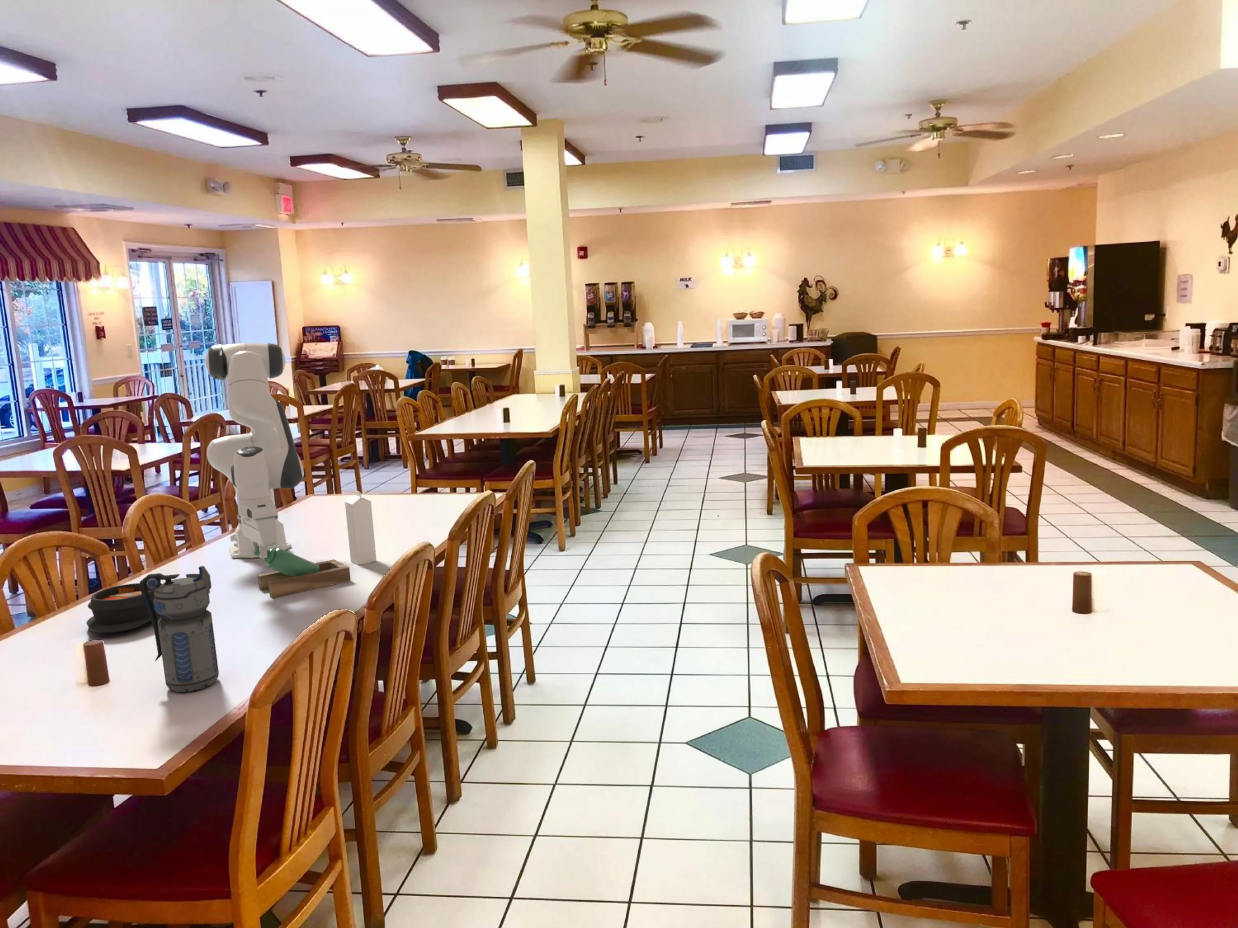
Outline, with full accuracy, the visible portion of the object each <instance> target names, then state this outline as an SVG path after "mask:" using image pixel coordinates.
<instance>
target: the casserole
mask: <svg viewBox="0 0 1238 928" xmlns="http://www.w3.org/2000/svg"><path fill="white" fill-rule="evenodd" d="M148 592H149V595H150V598H151V601H152V604H153V607H154V601H153V600H154V593H153V592H152V591H151V590H150V589H149V588H148ZM87 607H88V609H89V610H90V611H91V612H92V616H91V617H90V618H89V619H88V620H86V625H87V627H88V630H87V631H88V632H89V633H92V634H108V633H109V634H111V633H119V632H125V631H130V630H135V629H137V628H139V627H142V626H143V624H144V625H146V624H148V623H152V622H151V619H150V616H149V613H148V611H147V608H146V605H145V602H144V599H143V596H142V593H141V587H140V582H136V583H126V584H122V585H121V584H120V585H115V586H112V587H109V588H108V587H107V588H105V589H102V590H100V591H99V590H98V592H96V593H94V594H92V596H91V598H90V601H89V603H88V604H87ZM154 610H155V609H154ZM155 613H156V616H157V619H160V618H161V616H160V615H159V614H158V613H157V612H156V610H155Z"/></svg>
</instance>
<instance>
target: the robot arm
mask: <svg viewBox="0 0 1238 928" xmlns="http://www.w3.org/2000/svg"><path fill="white" fill-rule="evenodd" d="M204 360H205V362H204V363H205V368H206V371H208V373H209V375H210V377H212V378H213V379H215V380H220V381H224V380H227V396H228V410H229V413H228V414H229V416H230V418H231V419H232V420H233V421H234V422H235V423H237V424H240V425H241V426H244V427H248V428H250V432H248V433H242V434H233V435H225V436H222V437H219V438H218V437H217V438H215V439H212V440H211V441H210V442H209V444H208V446H207V448H206V458H207V459H206V460H207V461H208V463H209V465H210V466H211V467H212V468H214V469H215V470H217V471H218V472H220V473H222V475H224V476H226V478H228V479H229V481H230V482H231V484H232V486H233V489H234V491H235V496H236V501H237V509H238V512H237V515H236V516H237V517H236V518H237V523H238V525H237V526H236V529H235V530H234V533H233V534H229V539H230V542H231V543H233V542H234V543H233V544H231V545H229V546H228V549H229V550H228V551H229V553H230V556H231V557H230V558H232V559H238V558H241V559H242V558H245V559H246V558H247V559H248V558H249V559H250V558H251V559H253V558H260V559H262V560H263V558H267V550H268V549H269V548H271V549H274V548H275V547H278V548H280V549H283V550H285V551H287V549H290V548H292V543H290V542H287V538H286V534H285V533H286V532H285V527H284V524H283V522H281V521H280V520H279V516H278V513H279V511H278V508H277V507H276V503H275V494H274V489H294V488H296V487H298V485H299V484H300V483H302V481H303V480H304V476H305V475H304V474H305V472H304V465H303V463H302V460H301V457H300V456H299V454H298V452H297V448H296V445H295V444H296V443H295V441H294V438H293V433H292V430H291V427H290V423H289V420H288V418H287V415H286V411H285V409H284V406H283V404H282V403H281V402H280V401H278V400H276V399H274V397H273V396H272V394H271V391H270V386H269V385H270V384H269V379H270V380H271V379H274V378H278V377H280V376H282V374H283V372H284V370H285V368H286V367H285V366H286V357H285V353H284V351H283V350H282V348H281V346H280V345H279V344H276V343H269V342H268V343H260V342H244V343H242V342H241V343H228V344H222V343H221V344H215V345H211V346H210V347H209V349H208V351H207V353H206V356H205V359H204ZM256 546H259V557H258V556H256V555H254V554H253V551H254V549H255V547H256Z"/></svg>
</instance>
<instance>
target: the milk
mask: <svg viewBox="0 0 1238 928" xmlns="http://www.w3.org/2000/svg"><path fill="white" fill-rule="evenodd" d="M352 492H353V495H351V496H350V497H349V498H347V499H345V501H344V505H345V514H346V515H345V516H346V518H345V519H346V524H347V525H346V528H347V536H348V537H347V539H348V545H349V546H348V547H349V548H348V549H349V556H350V562H351V563H353V564H355V565H358V566H360V565H364V564H370V563H374V562H377V553H376V552H377V551H376V542H375V540H376V539H375V530H374V519H373V511H372V510H373V509H372V501H371V500H369V499H368V498H367V499H366V498H364V497H362V493H361V491H358V490H355V489H353V491H352Z"/></svg>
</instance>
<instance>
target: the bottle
mask: <svg viewBox="0 0 1238 928" xmlns="http://www.w3.org/2000/svg"><path fill="white" fill-rule="evenodd" d="M253 554H254V555H256V556H258V557H257V558H260V557H259V546H256V547H255V549H254V551H253ZM262 562H263V563H265V566H266V568H268V569H271V570H273V571H274V572H275V571H278V572H280V573H283V574H285V575H287V576H290V577H296V576H301V575H306V574H311V573H316V572H319V565H317V564H315V563H316V562H312V561H310V560H308V559H306V558H303V557H300V556H299V555H296V554H294V553H292V552H289V551H287V550H283V549H280V548H278V547H275V548H274V549H271V548H269V549H268V550H267V558H263V559H262Z"/></svg>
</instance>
